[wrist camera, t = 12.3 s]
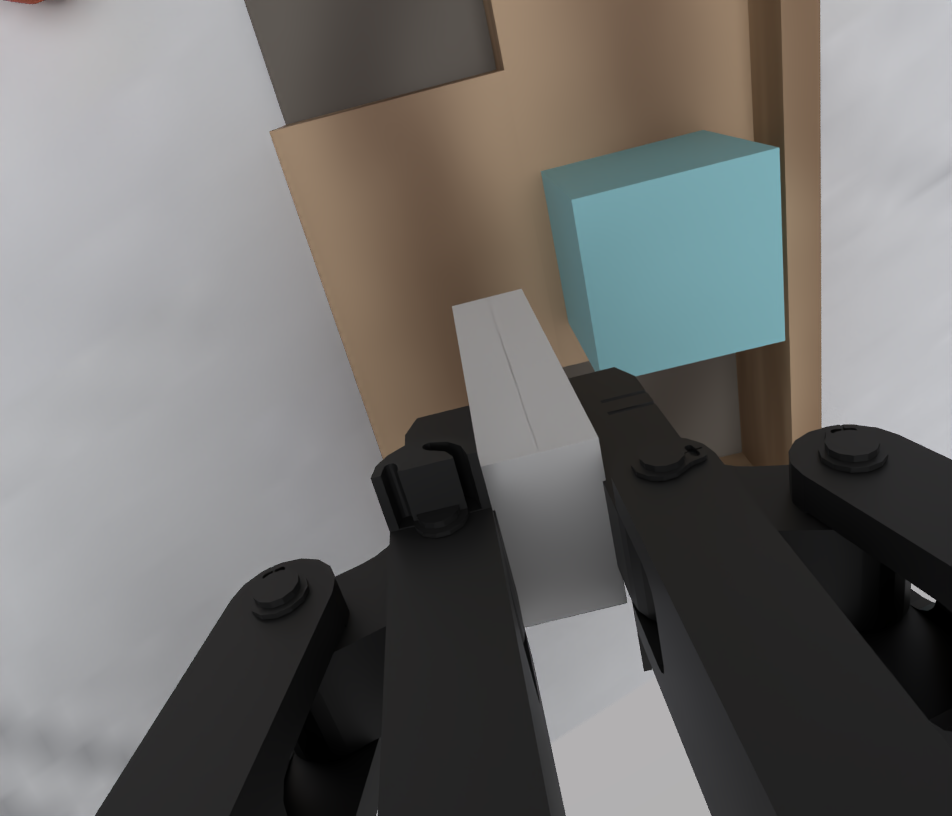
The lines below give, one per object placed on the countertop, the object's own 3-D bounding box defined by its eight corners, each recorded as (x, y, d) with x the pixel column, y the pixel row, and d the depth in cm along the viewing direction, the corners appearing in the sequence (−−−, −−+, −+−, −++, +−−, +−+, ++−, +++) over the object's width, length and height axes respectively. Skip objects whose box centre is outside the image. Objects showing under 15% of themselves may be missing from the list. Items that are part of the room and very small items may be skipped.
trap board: (429, 547, 31) (429, 629, 26) (60, -558, 16) (-84, -804, 11) (762, 471, 30) (821, 542, 25) (701, -762, 15) (816, -1107, 11)
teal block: (568, 322, 23) (602, 384, 19) (540, 171, 21) (571, 200, 16) (715, 286, 23) (785, 340, 18) (703, 130, 21) (779, 147, 16)
